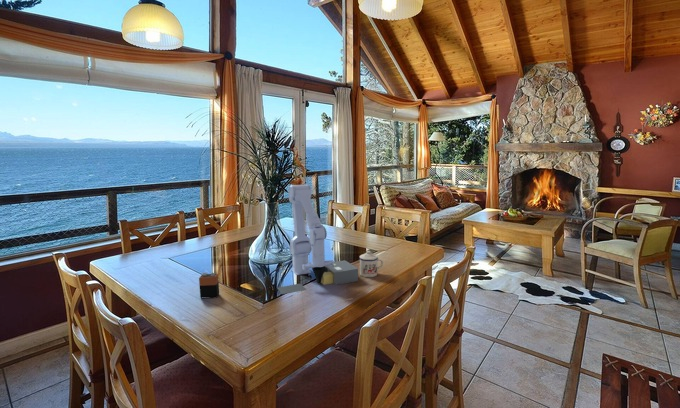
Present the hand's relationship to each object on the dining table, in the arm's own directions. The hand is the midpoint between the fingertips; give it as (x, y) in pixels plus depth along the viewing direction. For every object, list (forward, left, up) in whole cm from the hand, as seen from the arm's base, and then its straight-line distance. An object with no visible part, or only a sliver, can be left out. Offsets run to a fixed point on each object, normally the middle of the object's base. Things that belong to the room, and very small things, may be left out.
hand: (318, 282), depth 156 cm
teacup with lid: (-1, +28, -1) cm, 28 cm away
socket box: (-3, +12, -1) cm, 13 cm away
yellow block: (0, +6, -1) cm, 6 cm away
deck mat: (0, -13, -1) cm, 13 cm away
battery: (-8, -46, -1) cm, 47 cm away
